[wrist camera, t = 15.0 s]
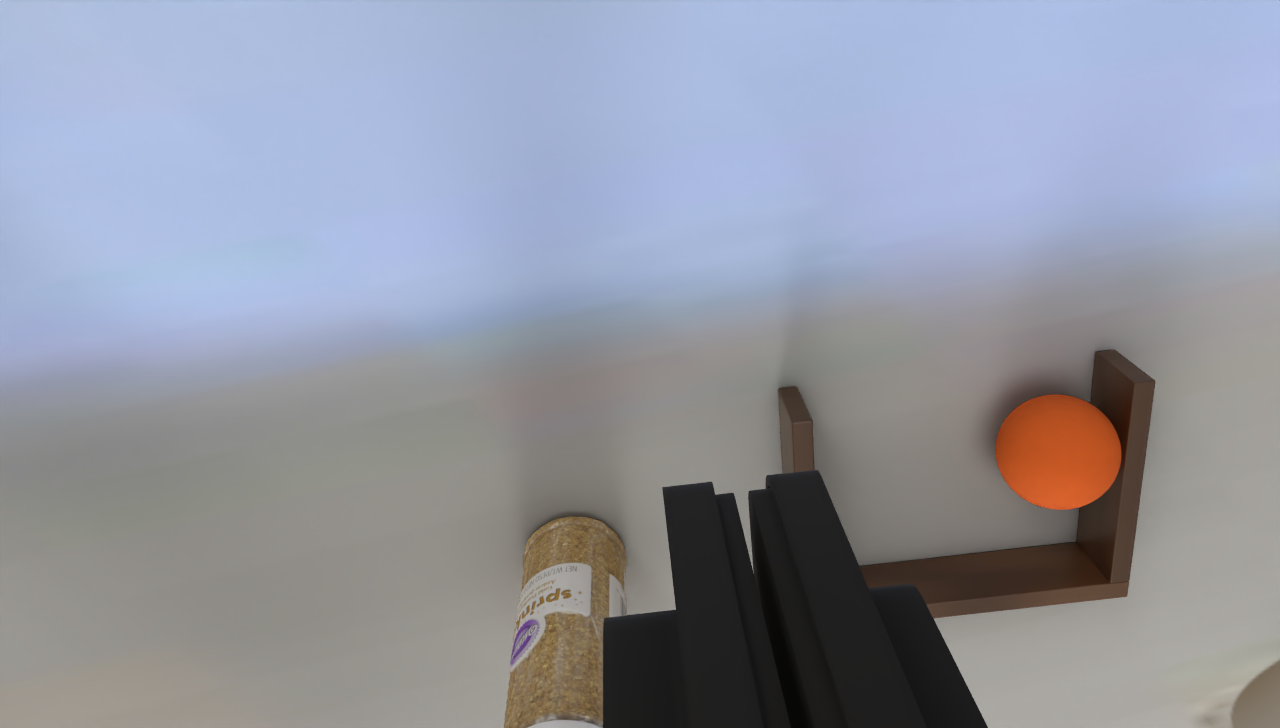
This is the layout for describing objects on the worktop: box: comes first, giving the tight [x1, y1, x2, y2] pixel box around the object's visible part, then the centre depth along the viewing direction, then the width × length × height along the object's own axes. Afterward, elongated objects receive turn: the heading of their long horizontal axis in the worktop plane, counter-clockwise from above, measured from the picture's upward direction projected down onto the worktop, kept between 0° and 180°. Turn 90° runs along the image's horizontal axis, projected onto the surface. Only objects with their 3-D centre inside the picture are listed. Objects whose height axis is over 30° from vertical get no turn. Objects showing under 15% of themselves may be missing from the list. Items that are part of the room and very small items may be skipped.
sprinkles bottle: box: [504, 516, 627, 728], centre depth 34 cm, size 5×5×14 cm
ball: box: [996, 395, 1121, 510], centre depth 36 cm, size 4×4×4 cm
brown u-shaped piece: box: [778, 350, 1155, 618], centre depth 37 cm, size 14×10×3 cm
